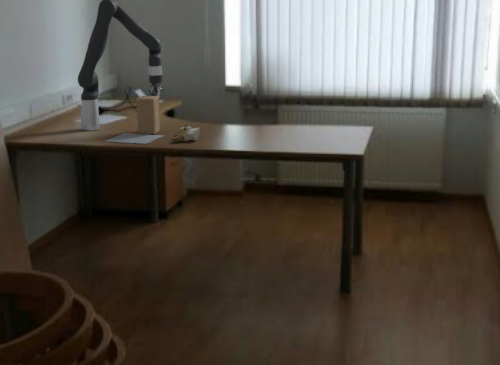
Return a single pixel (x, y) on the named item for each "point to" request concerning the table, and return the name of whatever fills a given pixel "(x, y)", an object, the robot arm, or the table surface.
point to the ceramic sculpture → (187, 134)
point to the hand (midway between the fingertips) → (156, 104)
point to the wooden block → (148, 115)
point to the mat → (134, 138)
